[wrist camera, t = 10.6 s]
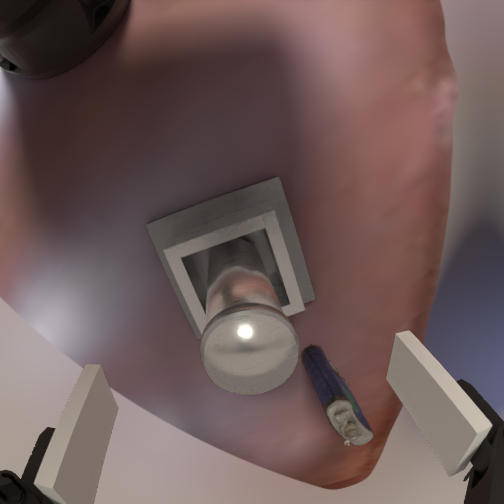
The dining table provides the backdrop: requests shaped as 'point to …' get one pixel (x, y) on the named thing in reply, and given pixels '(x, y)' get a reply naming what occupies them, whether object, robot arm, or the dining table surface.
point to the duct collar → (227, 228)
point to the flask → (336, 398)
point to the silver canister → (245, 324)
